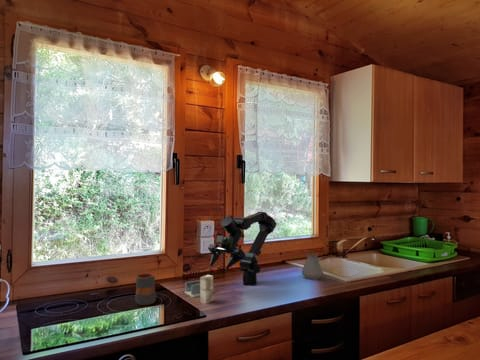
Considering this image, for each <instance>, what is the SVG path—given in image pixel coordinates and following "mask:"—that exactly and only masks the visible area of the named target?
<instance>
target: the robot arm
mask: <svg viewBox="0 0 480 360" xmlns="http://www.w3.org/2000/svg"><path fill="white" fill-rule="evenodd" d="M256 223H257V224H258V228H259V230H258V233H257V235H256V237H255V239H254V240H253V243H252V245H251V246H250V249H249V250H248V251H247V252H246V251H244V250H243V248H241V247H240V246H239V243H240V240H241V238H245V234H244V231H247V230H249V229H250V228H251V226H252V225H254V224H256ZM220 225H221V227H222V228H223V229H224V231H225V232H226V233H227V236H224V235H217V236H216V240H215V243H217V244H219V246H220V247H219V246H218V245H217V244H212V243H211V244H209V245H208V247H207V250H208V251H209V252H210V262H209V266H210V267H213V265H214V264H215V263H216V262H217V261H218V259H219V258H220V256H221V254H227V255H230V257H229V258H228V260H227V263H226V265H225V269H226V270H228V269H229V268H231V267H232V266H233V265H235V264H237V263H239V268H240V272H243V274H242V284H243V286H257V284H258V274H259V273H260V272H261V266H260V265H259V264H258V263H259V259H258V256H259V254H260V252H261V249H262V248H263V246H264V243H265V241H266V240H267V237H268V235H270V234H271V233H273V232H274V230H275V229H276V226H277V221H276V220H275V219H274V218H273V217H272V216H270V215H269V214H268V213H267V212H266V211H257V212H255V213H253V214H249V215H247V216H238V217H235V218H234V216H233V215H232V214H231V215H227V216H226V217H224V218H223V219H222V220H221V221H220ZM242 230H243V231H242Z"/></svg>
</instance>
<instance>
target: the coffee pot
mask: <svg viewBox="0 0 480 360" xmlns="http://www.w3.org/2000/svg"><path fill="white" fill-rule="evenodd" d="M305 254H306V257H307V258H306V260H305V263H304V265H303V267H302V269H301V275H302V277H304V279H306V280H310V281H311V280H312V281H314V280H316V281H317V280H319V279H320V278H322V277H323V275H324V271H323V269H322V267H321V264H320V262H319V261H321V260H322V261H323V260H326V259H328V258H330V259H331V260H333V259H335V256H334V255H333V254H329V255H326V256H323V257H320V258H318V256H319V253H316V252H306V253H305Z"/></svg>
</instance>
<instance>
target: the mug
mask: <svg viewBox="0 0 480 360" xmlns="http://www.w3.org/2000/svg"><path fill="white" fill-rule="evenodd" d="M135 280H136V281H135V287H136V288H135V289H136V290H135V295H134V296H135V297H134V298H135V299H134V300H135V301H134V302H135V304H136V305H138V306H149V305H150V306H151V305H153V304H155V303H156V299H157V297H156V296H157V295H156V290H155V289H156V288H155V285H156V280H155V274H153V273H141V274H138V275H136V277H135Z"/></svg>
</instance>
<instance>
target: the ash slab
mask: <svg viewBox="0 0 480 360" xmlns="http://www.w3.org/2000/svg"><path fill="white" fill-rule="evenodd" d="M199 280H200V296H199V297H200V299H199V300H200V301H199V302H200V303H201V304H204V303H205V305H206V304H209V303H211V302H213V301H214V275H211V274H206V275H202V276H200V278H199Z"/></svg>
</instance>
